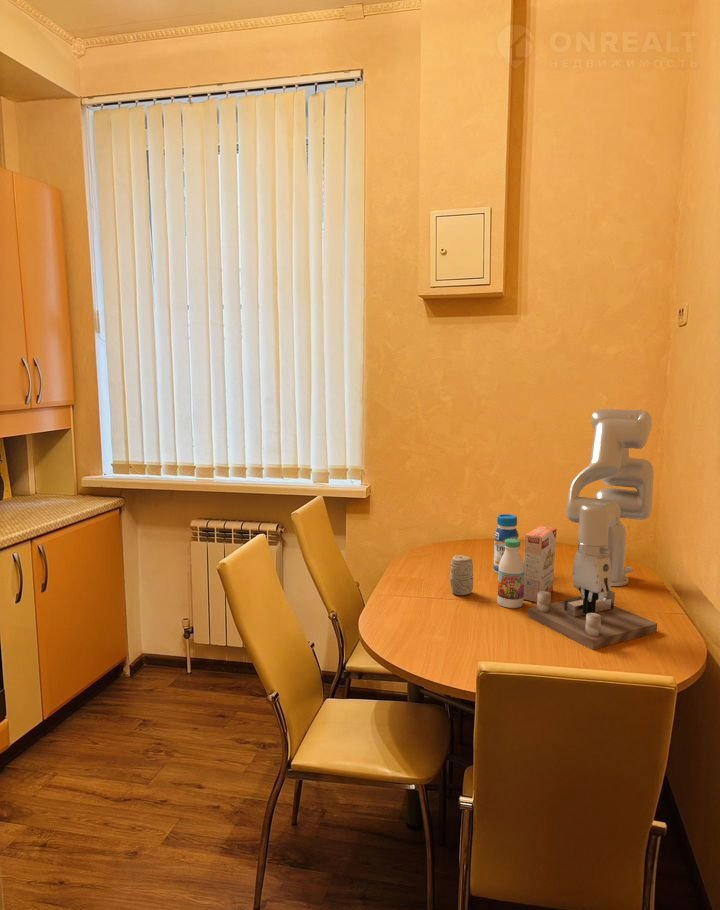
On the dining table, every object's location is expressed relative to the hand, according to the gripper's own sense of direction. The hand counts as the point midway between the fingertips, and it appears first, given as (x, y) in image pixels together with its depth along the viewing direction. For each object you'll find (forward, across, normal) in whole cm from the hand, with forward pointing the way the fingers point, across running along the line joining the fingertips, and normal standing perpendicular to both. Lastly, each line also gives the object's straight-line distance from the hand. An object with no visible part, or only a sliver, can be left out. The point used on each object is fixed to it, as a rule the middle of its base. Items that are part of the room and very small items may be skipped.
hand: (588, 613), depth 173 cm
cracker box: (+4, +25, -5) cm, 26 cm away
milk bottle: (+4, +23, +8) cm, 25 cm away
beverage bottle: (+4, +48, -11) cm, 49 cm away
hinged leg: (+1, +3, -5) cm, 6 cm away
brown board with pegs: (+4, +1, -2) cm, 4 cm away
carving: (+4, +37, +16) cm, 41 cm away
